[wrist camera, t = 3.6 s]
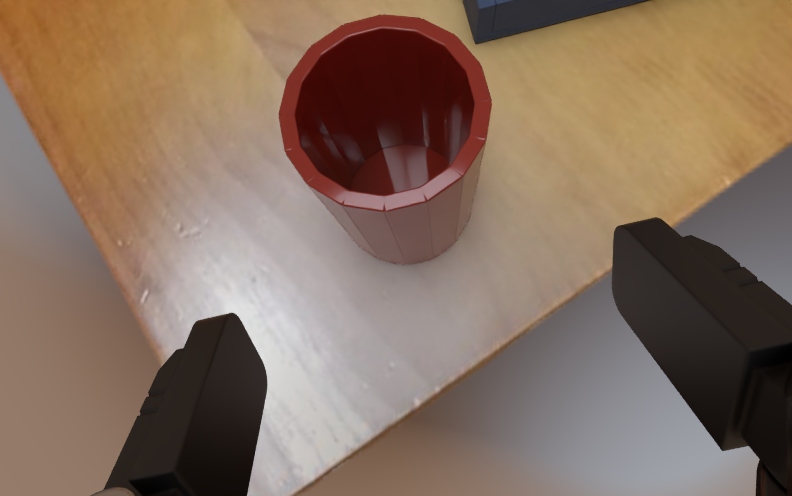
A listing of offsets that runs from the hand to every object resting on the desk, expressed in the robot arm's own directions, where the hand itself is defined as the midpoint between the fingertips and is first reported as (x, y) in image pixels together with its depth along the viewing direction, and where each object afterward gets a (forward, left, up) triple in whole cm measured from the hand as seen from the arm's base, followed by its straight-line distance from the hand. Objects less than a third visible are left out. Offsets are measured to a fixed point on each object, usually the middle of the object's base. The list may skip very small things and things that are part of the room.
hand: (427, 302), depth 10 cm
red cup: (0, +6, -11) cm, 13 cm away
